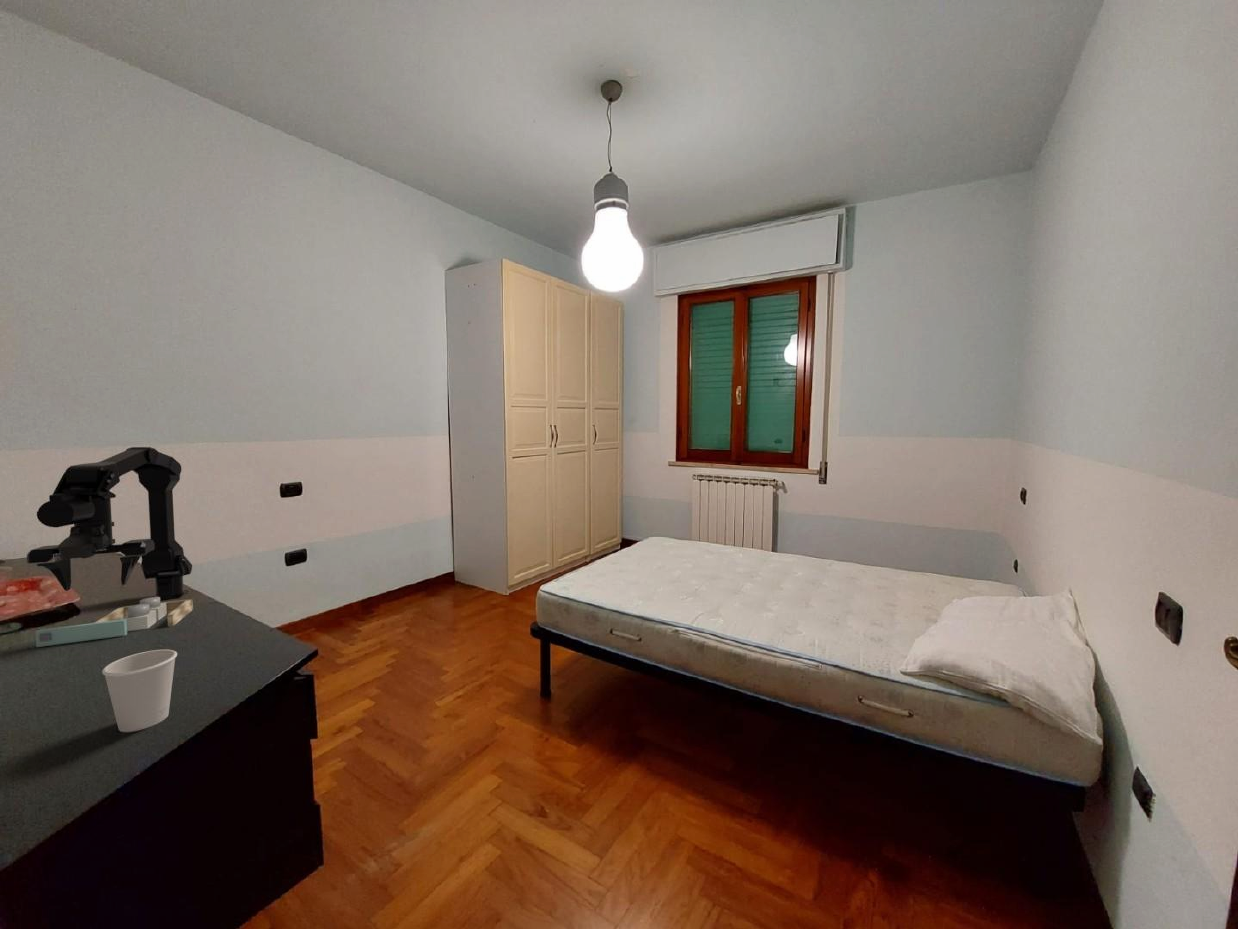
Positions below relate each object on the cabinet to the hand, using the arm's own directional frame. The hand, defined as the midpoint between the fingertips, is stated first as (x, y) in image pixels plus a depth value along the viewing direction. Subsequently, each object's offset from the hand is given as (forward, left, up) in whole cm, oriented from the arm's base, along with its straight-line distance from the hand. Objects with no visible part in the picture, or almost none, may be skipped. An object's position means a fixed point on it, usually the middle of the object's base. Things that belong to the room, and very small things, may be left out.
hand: (96, 587), depth 106 cm
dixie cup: (+48, +25, -12) cm, 55 cm away
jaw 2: (-8, +6, -11) cm, 15 cm away
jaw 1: (-2, +6, -11) cm, 13 cm away
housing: (-5, +6, -11) cm, 14 cm away
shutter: (+3, -1, -11) cm, 12 cm away
